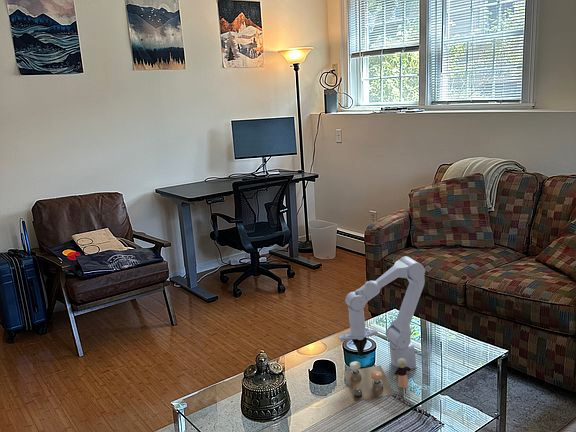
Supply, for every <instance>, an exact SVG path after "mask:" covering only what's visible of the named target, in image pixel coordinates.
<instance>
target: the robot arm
mask: <svg viewBox="0 0 576 432" xmlns="http://www.w3.org/2000/svg"><path fill="white" fill-rule="evenodd" d="M425 274H426V269H425V267H424V265H423V264H422V263H420V262H418V261H416V260H415V259H412V258H411V257H410V256H406V255H405V256H402V257H401V258H400V259H398V260H396V261H395V262H394V264H393V265H392V266H391V267H390V268H389V269H388V270H387V271H385V272H384V273H383V274H382V275H381V276H379V277H377V279H376V280H369V281H368V280H367V281H365V282H364V283H365V284H363V285H362V286H361V287H359V288H358V289H355V290H354V291H350V292H349V293H347V294H346V296H345V299H344V304H346V305H347V308H348V309H347V310H348V319H349V321H348V322H349V330H350V331H349V332H346V333H344V334H340V335H339V342H340V343H344V342H346V341H351V340H352V343H353V345H354V346H355V347H356V350H357V354H358V356H359V357H363V356H364V350H365V347H366V344H367V342H368V340H367V338H369V337H373V336H375V337H378V336H379V332H378V330H377V329H376V328H375V329H366V322H365V311H364V309H365V307H366V304H367V303H368V302H369V301H371V299H373V298H374V297H376V296H377V295H379V294H380V292H381V289H382V288H383V287H385V286H386V285H388V284H389V283H391V282H393V281H395V280H396V279H397V278H401V279H407V281H408V283H409V284H407V288H406V291H405V295H404V296H403V299H402V302H401V305H400V308H399V311H398V313H397V316H396V319H394V320H392V321H391V323H390V324H389V326H388V327H387V329H386V330H385V337H386V338H387V339H388V341H389V342H388V343H389V345H388V346H389V355H390V357H389V358H390V363H391V365H392V366H394V367H397V368H399V365H398V363H397V361H398V359H400V358H403V359H405V360H406V361H407V363H406V366H407V367H409V368H411V370H412V369H417V368H418V366H417V359H416V349H415V345H414V344H413V343H412V342H411V340H412V339H411V336H412V329H411V322H412V319H413V316H414V314H415V311H416V308H417V305H418V303H419V300H420V297H421V296H422V295H421V294H422V292H423V289H424V287H425V283H426V282H425V281H426V279H425Z"/></svg>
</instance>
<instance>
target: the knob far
mask: <svg viewBox="0 0 576 432" xmlns="http://www.w3.org/2000/svg"><path fill="white" fill-rule="evenodd" d="M349 368H350V369H351V370H354V373H358V369H361V362H359V361H351V362H350V363H349Z"/></svg>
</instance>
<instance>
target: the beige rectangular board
mask: <svg viewBox="0 0 576 432" xmlns="http://www.w3.org/2000/svg"><path fill="white" fill-rule="evenodd" d="M374 371H380V372H381V373H382V379H380V380H379V383H378V384H377V383H375V380H374V379H372V378H371V373H372V372H374ZM343 374H344V377H345V380H346V382H347V385H348V387H349V391H350V394H351V395H352V398H353V399H354V400H353V401H354V402H359V401H364V400H369V399H370V400H371V399H374V398H382V397H387V396H392V395H396V393H395V390H394V389H393V386H392V384H391V382H390V380H389V379H388V377H387V375H386V373H385V371H384V369H383V368H382V365H380V364H379V365H375V366H369V367H364V368H360V369H358V373H354V370H352V369H351V370H348V371H346V370H345V371H343ZM356 388H359V389H361V390H362V397H360V398H356V397H355V396H354V390H356Z"/></svg>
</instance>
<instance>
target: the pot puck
mask: <svg viewBox="0 0 576 432" xmlns="http://www.w3.org/2000/svg"><path fill="white" fill-rule="evenodd" d="M354 396H355V397H356V398H360V397H362V390H361V389H359V388H356V390H354Z"/></svg>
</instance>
